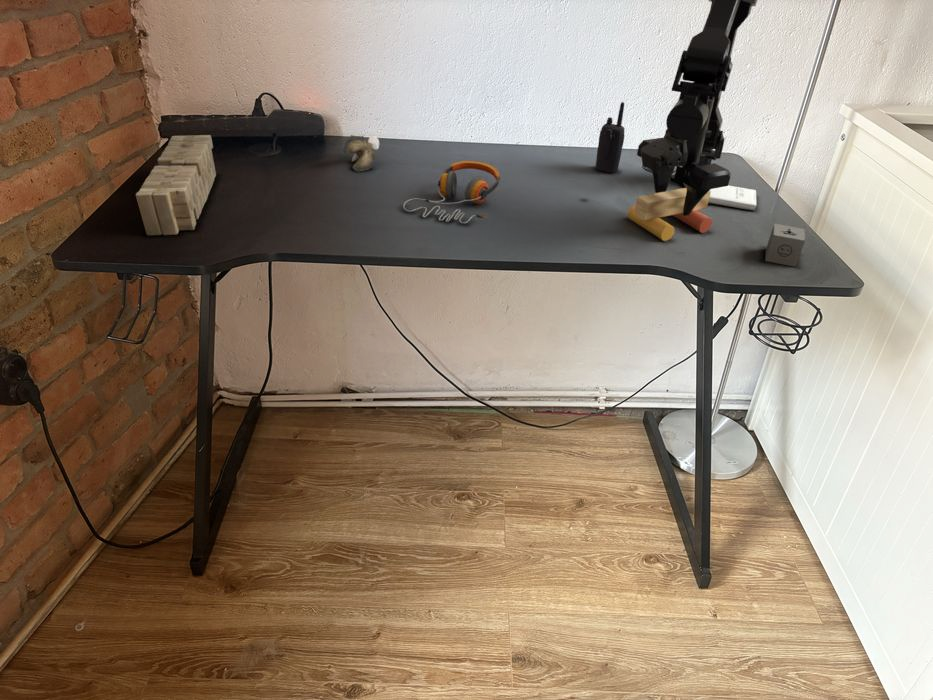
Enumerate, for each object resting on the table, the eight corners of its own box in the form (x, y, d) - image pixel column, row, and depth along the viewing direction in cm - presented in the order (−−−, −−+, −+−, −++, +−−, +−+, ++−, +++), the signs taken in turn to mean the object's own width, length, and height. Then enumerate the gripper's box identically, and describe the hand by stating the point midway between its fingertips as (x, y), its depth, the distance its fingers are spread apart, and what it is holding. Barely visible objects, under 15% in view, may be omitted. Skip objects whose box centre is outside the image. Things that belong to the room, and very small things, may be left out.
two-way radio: (620, 170, 153) (632, 102, 144) (612, 176, 150) (624, 107, 141) (597, 165, 155) (608, 97, 146) (589, 171, 152) (600, 101, 143)
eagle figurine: (341, 150, 153) (333, 156, 145) (358, 123, 151) (351, 128, 142) (370, 170, 155) (364, 178, 147) (387, 144, 152) (382, 150, 144)
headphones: (395, 199, 129) (442, 145, 140) (399, 222, 132) (444, 167, 144) (477, 219, 123) (518, 161, 135) (478, 242, 127) (518, 184, 139)
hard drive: (693, 186, 146) (753, 196, 144) (690, 200, 140) (754, 211, 137) (695, 178, 145) (756, 188, 143) (692, 193, 139) (756, 204, 136)
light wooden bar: (696, 202, 132) (700, 185, 130) (706, 208, 130) (711, 190, 128) (633, 214, 127) (637, 196, 125) (643, 220, 124) (647, 202, 122)
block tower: (193, 239, 120) (219, 172, 143) (183, 194, 115) (212, 132, 138) (146, 240, 119) (179, 172, 142) (134, 194, 114) (171, 132, 137)
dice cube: (765, 260, 120) (773, 234, 117) (765, 249, 124) (774, 223, 121) (795, 266, 118) (805, 240, 116) (795, 254, 122) (804, 228, 119)
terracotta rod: (674, 210, 136) (678, 196, 134) (709, 231, 129) (713, 216, 127) (663, 213, 135) (666, 198, 133) (697, 234, 128) (701, 219, 126)
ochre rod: (638, 217, 133) (641, 203, 131) (672, 239, 125) (676, 224, 124) (626, 220, 131) (628, 205, 130) (659, 242, 124) (662, 227, 122)
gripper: (621, 112, 122) (607, 194, 132) (691, 145, 109) (670, 234, 118) (669, 106, 127) (653, 186, 136) (743, 138, 113) (719, 224, 122)
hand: (671, 207), depth 128 cm, fingers open, 7 cm apart
